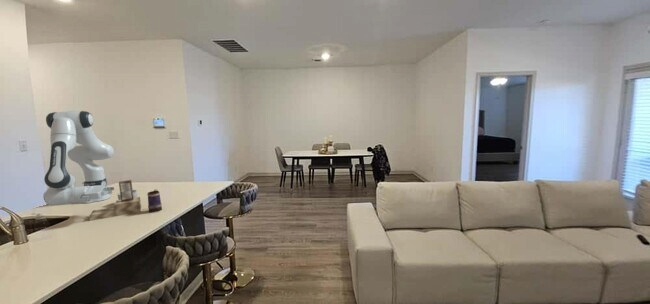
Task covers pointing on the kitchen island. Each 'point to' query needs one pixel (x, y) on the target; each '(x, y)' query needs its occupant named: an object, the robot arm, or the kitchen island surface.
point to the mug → (154, 201)
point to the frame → (126, 190)
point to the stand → (118, 209)
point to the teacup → (133, 194)
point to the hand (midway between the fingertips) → (113, 190)
